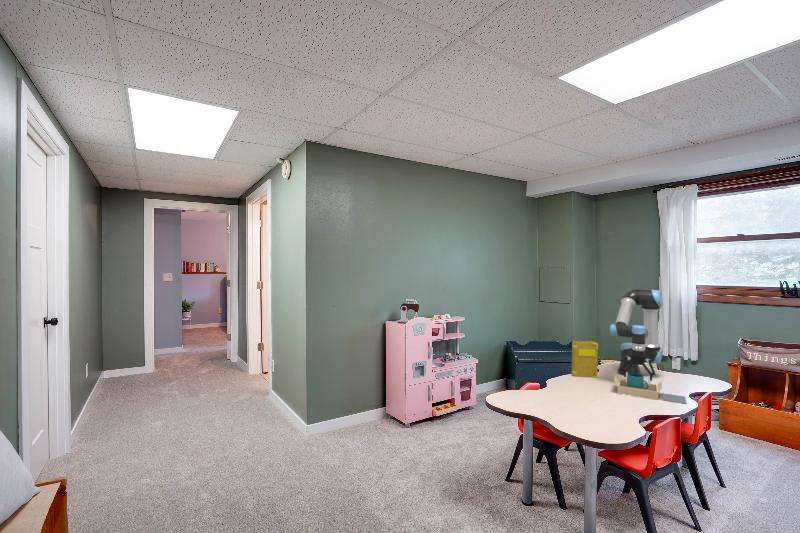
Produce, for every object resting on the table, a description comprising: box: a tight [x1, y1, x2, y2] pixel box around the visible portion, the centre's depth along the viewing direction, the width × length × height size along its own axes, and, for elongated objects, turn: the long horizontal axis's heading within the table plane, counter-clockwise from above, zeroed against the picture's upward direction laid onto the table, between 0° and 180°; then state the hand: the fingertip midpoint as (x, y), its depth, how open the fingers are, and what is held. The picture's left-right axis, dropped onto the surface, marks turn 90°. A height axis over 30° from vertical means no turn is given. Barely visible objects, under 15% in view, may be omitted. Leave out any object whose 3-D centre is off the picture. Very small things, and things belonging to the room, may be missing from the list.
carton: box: [613, 374, 664, 401], centre depth 255 cm, size 18×26×8 cm
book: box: [571, 340, 599, 379], centre depth 294 cm, size 17×7×25 cm, turn 84°
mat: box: [661, 392, 688, 405], centre depth 245 cm, size 15×12×1 cm
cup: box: [627, 373, 649, 390], centre depth 255 cm, size 9×12×11 cm
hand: (637, 384), depth 255 cm, fingers closed on cup, 12 cm apart
